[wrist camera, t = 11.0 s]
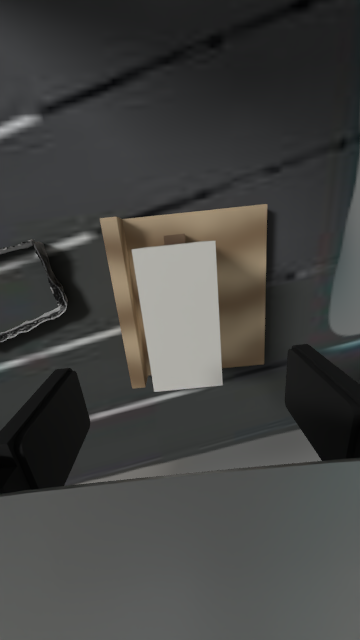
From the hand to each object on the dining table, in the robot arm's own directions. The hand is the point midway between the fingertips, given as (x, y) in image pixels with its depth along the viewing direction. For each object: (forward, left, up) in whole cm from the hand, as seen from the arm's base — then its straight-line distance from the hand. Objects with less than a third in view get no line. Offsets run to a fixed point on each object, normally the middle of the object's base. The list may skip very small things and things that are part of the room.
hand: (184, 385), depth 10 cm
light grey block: (0, 0, -17) cm, 17 cm away
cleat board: (0, +2, -18) cm, 18 cm away
